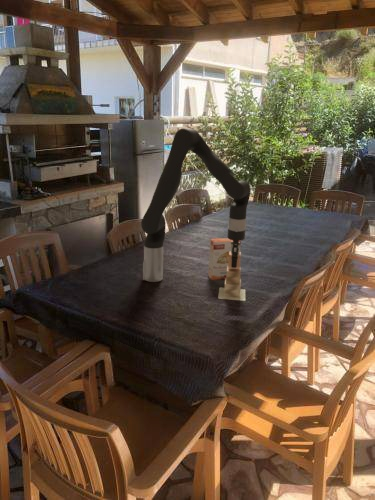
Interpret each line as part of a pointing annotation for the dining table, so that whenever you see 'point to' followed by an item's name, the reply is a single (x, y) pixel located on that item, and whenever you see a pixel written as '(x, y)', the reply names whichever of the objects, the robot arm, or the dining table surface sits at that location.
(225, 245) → the cracker box
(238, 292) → the birch base block
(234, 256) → the terracotta block
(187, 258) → the dining table surface
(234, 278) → the oak top block
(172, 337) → the dining table surface
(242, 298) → the beige flat square slab
